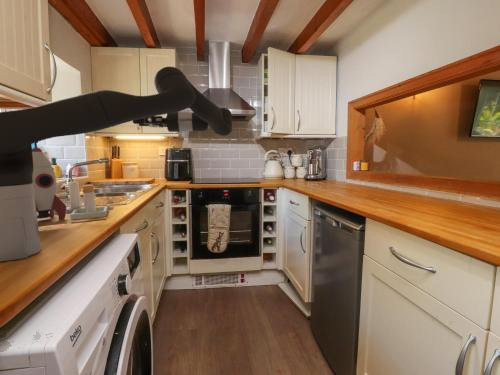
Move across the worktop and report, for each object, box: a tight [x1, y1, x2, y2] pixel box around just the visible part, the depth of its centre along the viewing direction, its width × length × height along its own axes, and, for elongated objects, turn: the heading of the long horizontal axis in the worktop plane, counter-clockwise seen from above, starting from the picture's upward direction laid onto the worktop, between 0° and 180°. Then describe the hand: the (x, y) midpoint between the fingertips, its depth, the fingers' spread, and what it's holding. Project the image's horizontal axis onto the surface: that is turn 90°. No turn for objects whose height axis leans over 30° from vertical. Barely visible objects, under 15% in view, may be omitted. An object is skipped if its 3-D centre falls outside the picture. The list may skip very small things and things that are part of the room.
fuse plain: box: [67, 181, 82, 213], centre depth 108 cm, size 4×4×12 cm
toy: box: [32, 142, 67, 220], centre depth 94 cm, size 11×11×30 cm
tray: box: [69, 205, 109, 225], centre depth 103 cm, size 11×11×3 cm
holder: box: [37, 204, 115, 216], centre depth 109 cm, size 7×27×3 cm, turn 114°
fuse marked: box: [81, 184, 97, 213], centre depth 102 cm, size 4×4×12 cm
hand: (136, 121), depth 102 cm, fingers open, 8 cm apart
